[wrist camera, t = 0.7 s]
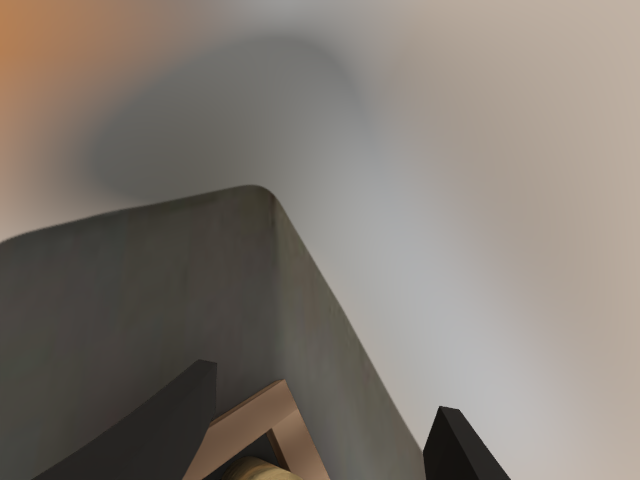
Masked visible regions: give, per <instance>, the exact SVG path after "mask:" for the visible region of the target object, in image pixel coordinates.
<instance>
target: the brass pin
mask: <svg viewBox="0 0 640 480" xmlns="http://www.w3.org/2000/svg"><path fill="white" fill-rule="evenodd" d="M221 480H303V479H302V478H300V477H299V476H297V475H295V474H293V473H291V472H288V471H286V470H284V469H282V468H279V467H277V466H275V465H273V464H270V463H268V462H266V461H264V460H261V459H259V458H257V457H253V456H246V457H242V458H240V459H238V460H236V461H235V462H233V463H232V464H231V465H230V466H229V467H228V468H227V470H226V471H225V472H224V474H223V476H222V478H221Z"/></svg>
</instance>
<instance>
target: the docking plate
mask: <svg viewBox="0 0 640 480" xmlns="http://www.w3.org/2000/svg"><path fill="white" fill-rule="evenodd" d="M265 432H266V435H267V437H268V439H269V442H270V444H271V446H272V449H273V451H274V453H275V456H276V458H277V460H278V463H279V465H280V468H282V469H284V470H286V471H288V472H291V473H293V474H295V475H297V476H299V477H300V478H302V479H303V480H330V478H329V476H328V474H327V472H326V469H325V467H324V465H323V463H322V461H321V458H320V456H319V454H318V452H317V450H316V447H315V445H314V443H313V441H312V439H311V436H310V434H309V432H308V430H307V428H306V425H305V423H304V421H303V419H302V417H301V414H300V412H299V410H298V408H297V406H296V403H295V401H294V399H293V397H292V395H291V392H290V390H289V388H288V386H287V383H286V381H285V379H284V380H278V381H275V382H273V383H272V384H270V385H269V386H267V387H266V388H264V389H262V390H261V391H259V392H258V393H256V394H255V395H253V396H251V397H250V398H248V399H247V400H245V401H244V402H242V403H240V404H239V405H237V406H236V407H234V408H233V409H231V410H229V411H228V412H226V413H225V414H223V415H222V416H220V417H219V418H217V419H215V420H214V421H212V422H211V423H210V425H209V427H208V429H207V432H206V434H205V437H204V439H203V441H202V444H201V446H200V447H199V449H198V451H197V453H196V455H195V457H194V459H193V461H192V463H191V464H190V466H189V468H188V470H187V472H186V474H185V476H184V477H183V479H182V480H202V479H203V478H205V477H206V476H207V475H209V474H210V473H211V472H213V471H214V470H215V469H217V468H218V467H219V466H221V465H222V464H224V463H225V462H226V461H228V460H229V459H230V458H232V457H233V456H234V455H236V454H237V453H238V452H240V451H241V450H242V449H244V448H245V447H246V446H248V445H249V444H251V443H252V442H253V441H255V440H256V439H257V438H259V437H260V436H261V435H263V434H264V433H265Z"/></svg>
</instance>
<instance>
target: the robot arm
mask: <svg viewBox="0 0 640 480" xmlns="http://www.w3.org/2000/svg"><path fill="white" fill-rule="evenodd" d="M216 372H217V363H214V362H209V361H204V360H197V361H196V362H194V363H193V364H192V365H191V366H190V367H188V368H187V369H186V370H185V371H184V372H182V373H181V374H180V375H179V376H177V377H176V378H175V379H174V380H173V381H171V382H170V383H169V384H168V385H166V386H165V387H164V388H163V389H161V390H160V391H159V392H158V393H156V394H155V395H154V396H152V397H151V398H150V399H149V400H147V401H146V402H145V403H143V404H142V405H141V406H140V407H138V408H137V409H136V410H134V411H133V412H132V413H130V414H129V415H128V416H126V417H125V418H124V419H122V420H121V421H119V422H118V423H117V424H115V425H114V426H112V427H111V428H110V429H108V430H107V431H105V432H104V433H103V434H101V435H100V436H98V437H97V438H96V439H94V440H93V441H91V442H90V443H88V444H87V445H85V446H84V447H82V448H81V449H79V450H78V451H76V452H75V453H73V454H72V455H70V456H68V457H67V458H65V459H64V460H62V461H61V462H59V463H57V464H56V465H54V466H53V467H51V468H50V469H48V470H46V471H45V472H43V473H41V474H40V475H38V476H36V477H35V478H33V479H31V480H182V479H183V477H184V476H185V474H186V472H187V470H188V468H189V466H190V464H191V463H192V461H193V459H194V457H195V455H196V453H197V451H198V449H199V447H200V446H201V444H202V441H203V439H204V437H205V434H206V432H207V429H208V427H209V425H210V422H211V420H212V417H213V415H214V412H215V408H216ZM423 457H424V465H425V474H426V480H511V479H510V478H509V477H508V476H507V474H506V473H505V471H504V470H503V469H502V467H501V466H500V465H499V463H498V462H497V461H496V459H495V458H494V457H493V455H492V454H491V453H490V451H489V450H488V448H487V447H486V446H485V445H484V443H483V442H482V440H481V439H480V437H479V436H478V435H477V434H476V432H475V431H474V429H473V428H472V426H471V425H470V424H469V422H468V421H467V420H466V418H465V417H464V415H463V414H462V413H461V411H460V410H459V409H453V408H448V407H443V406H439V408H438V411H437V414H436V417H435V419H434V422H433V425H432V428H431V431H430V433H429V437H428V439H427V442H426V445H425V447H424V450H423Z"/></svg>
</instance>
